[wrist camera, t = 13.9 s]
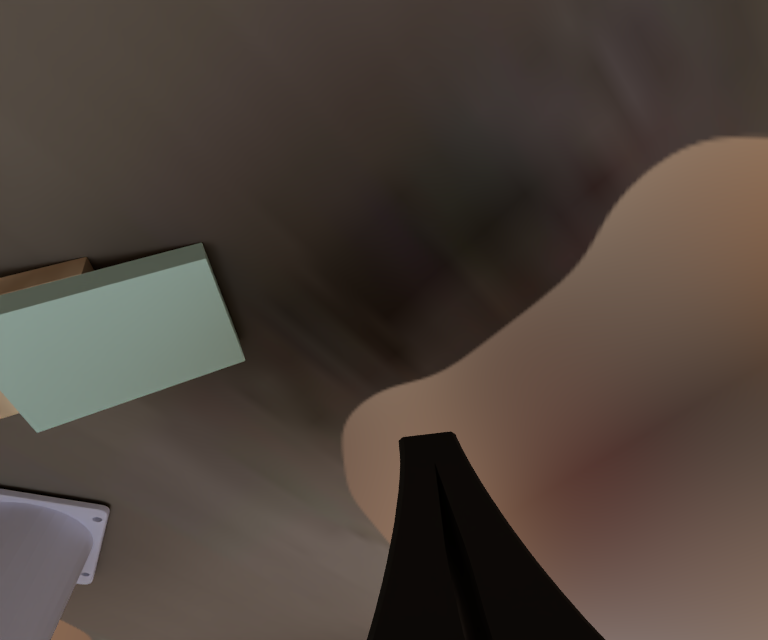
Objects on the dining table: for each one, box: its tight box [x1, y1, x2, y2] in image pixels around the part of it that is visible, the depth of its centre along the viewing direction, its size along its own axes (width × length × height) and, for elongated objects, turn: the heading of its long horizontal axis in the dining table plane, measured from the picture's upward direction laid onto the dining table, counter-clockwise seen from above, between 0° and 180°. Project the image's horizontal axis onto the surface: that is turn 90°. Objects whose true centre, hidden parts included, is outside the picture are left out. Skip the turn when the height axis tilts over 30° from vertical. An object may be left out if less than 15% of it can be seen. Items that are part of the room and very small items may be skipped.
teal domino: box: [0, 243, 245, 433], centre depth 17 cm, size 2×5×8 cm
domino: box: [0, 257, 94, 419], centre depth 17 cm, size 2×5×8 cm
